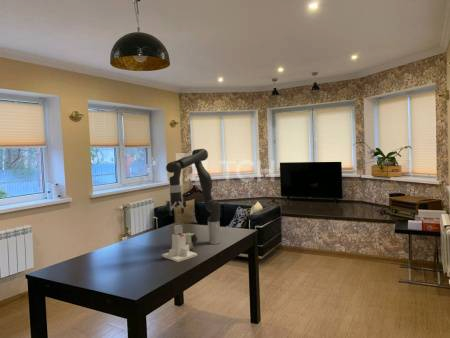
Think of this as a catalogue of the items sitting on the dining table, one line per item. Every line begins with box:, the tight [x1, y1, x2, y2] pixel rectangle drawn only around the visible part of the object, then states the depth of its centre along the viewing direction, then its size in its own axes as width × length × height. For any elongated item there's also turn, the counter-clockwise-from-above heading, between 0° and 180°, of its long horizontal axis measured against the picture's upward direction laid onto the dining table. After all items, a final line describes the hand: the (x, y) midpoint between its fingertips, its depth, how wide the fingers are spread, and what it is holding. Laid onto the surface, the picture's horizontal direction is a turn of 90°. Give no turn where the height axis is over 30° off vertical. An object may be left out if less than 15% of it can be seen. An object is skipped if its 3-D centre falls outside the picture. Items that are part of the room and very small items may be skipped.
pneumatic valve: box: [184, 232, 198, 250], centre depth 250 cm, size 6×12×12 cm, turn 56°
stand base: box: [161, 233, 198, 263], centre depth 232 cm, size 17×18×16 cm
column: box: [173, 224, 184, 235], centre depth 231 cm, size 4×4×20 cm
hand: (176, 214), depth 230 cm, fingers open, 8 cm apart
